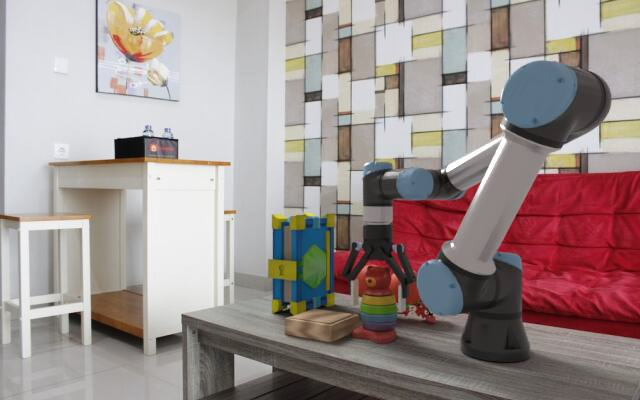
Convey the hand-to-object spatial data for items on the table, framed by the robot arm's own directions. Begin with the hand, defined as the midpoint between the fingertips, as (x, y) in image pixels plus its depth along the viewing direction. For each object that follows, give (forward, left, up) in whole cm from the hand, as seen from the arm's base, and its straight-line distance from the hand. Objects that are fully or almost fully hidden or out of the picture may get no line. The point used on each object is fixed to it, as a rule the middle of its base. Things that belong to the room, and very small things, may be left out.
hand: (377, 308), depth 129 cm
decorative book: (+33, -16, -7) cm, 37 cm away
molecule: (+4, -19, -7) cm, 21 cm away
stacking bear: (0, 0, -7) cm, 7 cm away
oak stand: (+14, +4, -7) cm, 16 cm away
